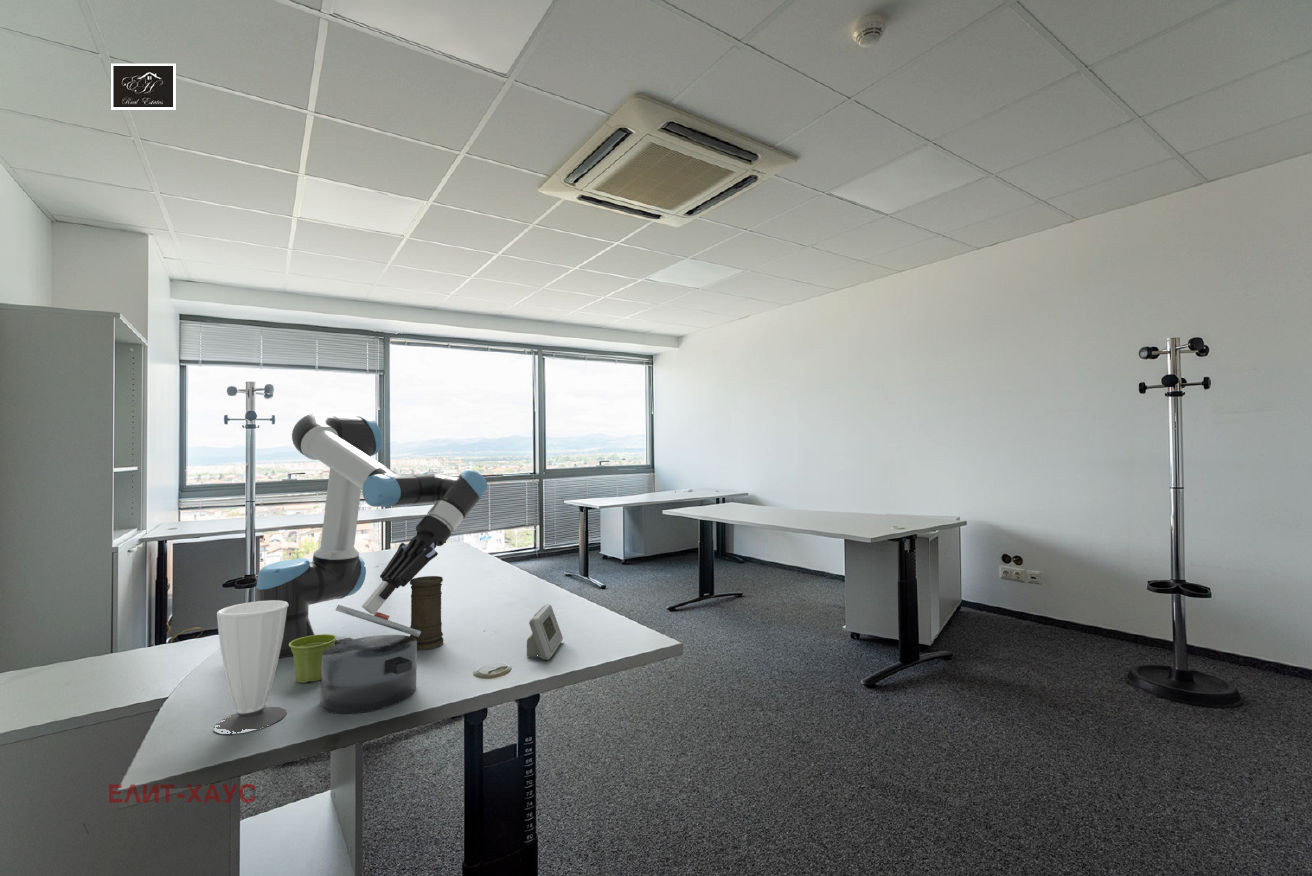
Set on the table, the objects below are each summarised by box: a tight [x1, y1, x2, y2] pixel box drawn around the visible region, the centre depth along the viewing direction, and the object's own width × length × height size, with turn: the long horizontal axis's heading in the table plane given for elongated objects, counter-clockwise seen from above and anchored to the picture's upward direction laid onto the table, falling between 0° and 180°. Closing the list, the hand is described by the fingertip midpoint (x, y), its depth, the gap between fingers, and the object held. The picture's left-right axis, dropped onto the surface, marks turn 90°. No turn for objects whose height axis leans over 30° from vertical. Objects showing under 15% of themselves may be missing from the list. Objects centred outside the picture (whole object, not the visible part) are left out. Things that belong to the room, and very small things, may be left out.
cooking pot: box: [320, 634, 418, 715], centre depth 118 cm, size 27×18×10 cm, turn 54°
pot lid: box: [335, 604, 421, 637], centre depth 120 cm, size 18×18×2 cm
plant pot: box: [289, 633, 337, 684], centre depth 128 cm, size 9×9×9 cm
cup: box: [213, 600, 289, 734], centre depth 107 cm, size 12×12×22 cm
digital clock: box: [526, 603, 564, 661], centre depth 145 cm, size 16×9×11 cm, turn 166°
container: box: [409, 575, 444, 651], centre depth 151 cm, size 9×9×18 cm
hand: (367, 610), depth 117 cm, fingers closed
